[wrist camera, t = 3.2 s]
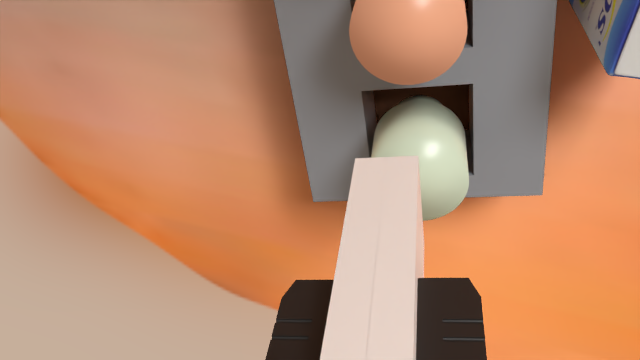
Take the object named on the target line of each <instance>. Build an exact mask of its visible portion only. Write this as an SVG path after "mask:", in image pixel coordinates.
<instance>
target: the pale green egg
mask: <svg viewBox="0 0 640 360" xmlns="http://www.w3.org/2000/svg"><path fill="white" fill-rule="evenodd" d="M398 156H418V158H419V173H420V188H421V203H422V218H423V221H424V220H432V219H436V218H439V217H442V216H444V215H446V214H448V213H450V212H451V211H453V210H454V209H455V208H456V207H457V206H459V205H460V203H461V202H462V201H463V199H464V198H465V196H466V194H467V191H468V187H469V173H468V161H467V150H466V138H465V131H464V127H463V125H462V123H461V121H460V119H459V118H458V117H457V116H456V114H455V113H453V112H452V111H451V110H450V109H448V108H447V107H445V106H443V105H442V104H441V103H440V102H439V101H438V100H436V99H435V98H433V97H430V96H426V95H414V96H410V97H408V98H406V99H404V100H402V101H401V102H400V103H399V104H398V105H397V106H395V107H393V108H391V109H390V110H388V111H387V112H386V113H385V114H384V115H383V116H382V118H381V119H380V120H379V122H378V124H377V126H376V129H375V133H374V140H373V147H372V154H371V158H376V157H398Z"/></svg>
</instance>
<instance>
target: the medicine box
mask: <svg viewBox="0 0 640 360" xmlns="http://www.w3.org/2000/svg"><path fill="white" fill-rule="evenodd" d="M569 2H570V4H571V6H572V8H573V10H574V12H575V13H576V15H577V17H578V19H579V21H580V23H581V25H582V26H583V28H584V30H585V32H586V34H587V36H588V38H589V40H590V42H591V44H592V46H593V48H594V50H595V52H596V54H597V56H598V57H599V59H600V61H601V63H602V65H603V67H604V69H605V70H606V72H607V74H608V75H610V76H620V77H629V78H637V79H640V0H569Z"/></svg>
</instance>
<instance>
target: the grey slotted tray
mask: <svg viewBox="0 0 640 360" xmlns="http://www.w3.org/2000/svg"><path fill="white" fill-rule="evenodd" d="M355 1H356V0H274V4H275V9H276V14H277V19H278V24H279V29H280V35H281V40H282V45H283V50H284V55H285V60H286V65H287V70H288V75H289V80H290V85H291V90H292V96H293V101H294V106H295V111H296V116H297V121H298V126H299V131H300V136H301V141H302V146H303V151H304V157H305V162H306V167H307V172H308V177H309V182H310V187H311V192H312V197H313V202H322V201H348V197H349V191H350V185H351V180H352V174H353V168H354V163H355V158H371V154H372V147H373V140H374V133H375V129H376V126H377V120H376V110H375V101H374V92H373V90H386V89H401V88H416V87H432V86H447V85H462V84H469V129H466V130H464V131H465V138H466V150H467V161H468V173H469V187H468V191H467V194H466V196H465V197H495V196H530V195H542V193H543V179H544V166H545V153H546V140H547V126H548V113H549V100H550V87H551V73H552V60H553V47H554V34H555V20H556V7H557V0H468V10H466V17H467V37H466V42H465V45H464V48H463V50H462V52H461V54H460V56H459V57H458V59H457V60H456V62H455V63H454V64H453V65H452V66H451V67H450V68H449V69H448V70H447V71H446V72H445V73H443V74H442V75H440V76H439V77H437V78H435V79H433V80H430V81H428V82H425V83H420V84H415V85H399V84H393V83H389V82H386V81H384V80H381V79H379V78H377V77H376V76H374V75H373V74H371V73H370V72H369V71H368V70H366V69H365V68H364V67H363V65H362V64H361V63H360V62H359V60H358V59H357V57H356V55H355V54H354V52H353V49H352V46H351V42H350V36H349V25H350V19H351V15H352V11H353V8H354V4H355Z"/></svg>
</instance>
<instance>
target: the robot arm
mask: <svg viewBox="0 0 640 360" xmlns="http://www.w3.org/2000/svg"><path fill="white" fill-rule="evenodd" d="M266 360H487V356H486V346H485V335H484V324H483V314H482V303H481V296H480V295H479V293H478V292H477V290H476V289H475V287H474V286H473V284H472V283H471V281H470V280H469V278H424V233H423V218H422V203H421V188H420V173H419V158H418V156H398V157H376V158H355V163H354V168H353V174H352V180H351V185H350V191H349V197H348V202H347V208H346V214H345V219H344V225H343V231H342V236H341V242H340V248H339V253H338V259H337V265H336V270H335V276H334V280H296V281H295V282H294V283H293V284H292V286H291V287H290V288H289V290H288V291H287V292H286V293H285V295H284V296H283V297H282V299H281V303H280V307H279V310H278V315H277V318H276V323H275V325H274V329H273V333H272V340H271V341H270V344H269V348H268V352H267V356H266Z"/></svg>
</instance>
